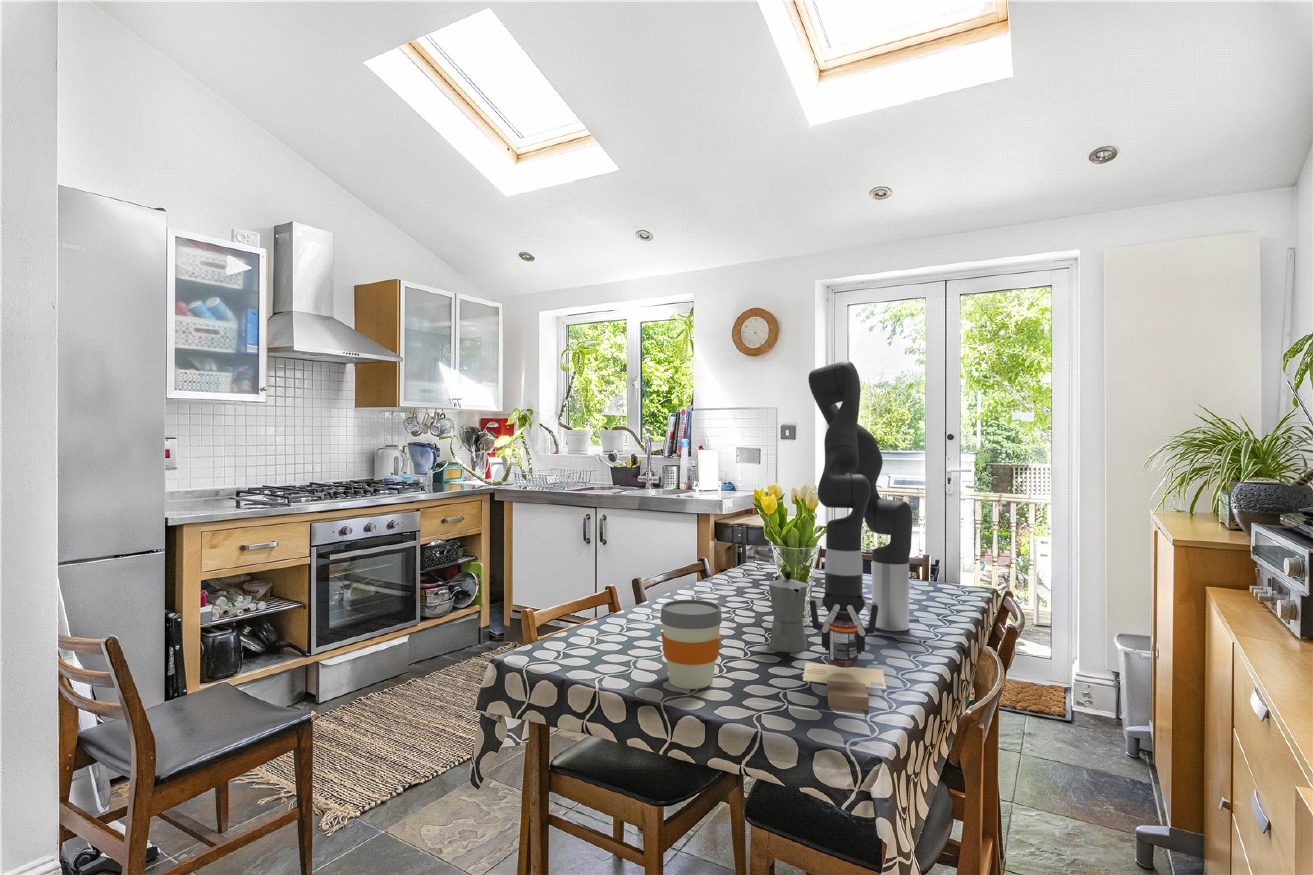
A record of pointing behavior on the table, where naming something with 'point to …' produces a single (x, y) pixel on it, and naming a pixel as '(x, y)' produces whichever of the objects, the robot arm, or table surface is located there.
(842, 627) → the supplement bottle
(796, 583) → the coffeepot
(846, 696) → the block
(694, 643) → the reusable coffee cup
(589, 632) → the table surface
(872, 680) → the letter
